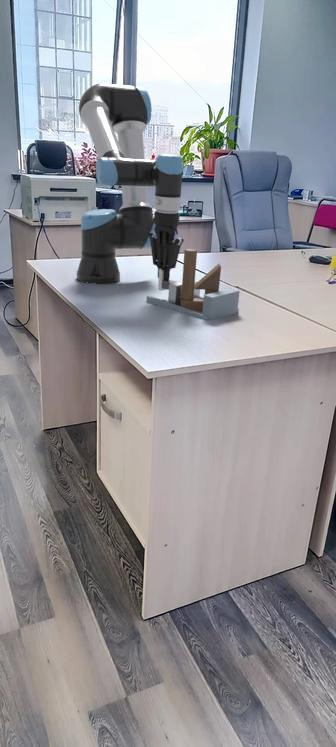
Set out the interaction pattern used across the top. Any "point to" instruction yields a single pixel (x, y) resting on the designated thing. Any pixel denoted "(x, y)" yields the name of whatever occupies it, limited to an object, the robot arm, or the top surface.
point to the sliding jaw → (177, 291)
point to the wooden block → (188, 282)
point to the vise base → (208, 304)
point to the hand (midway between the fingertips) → (162, 289)
